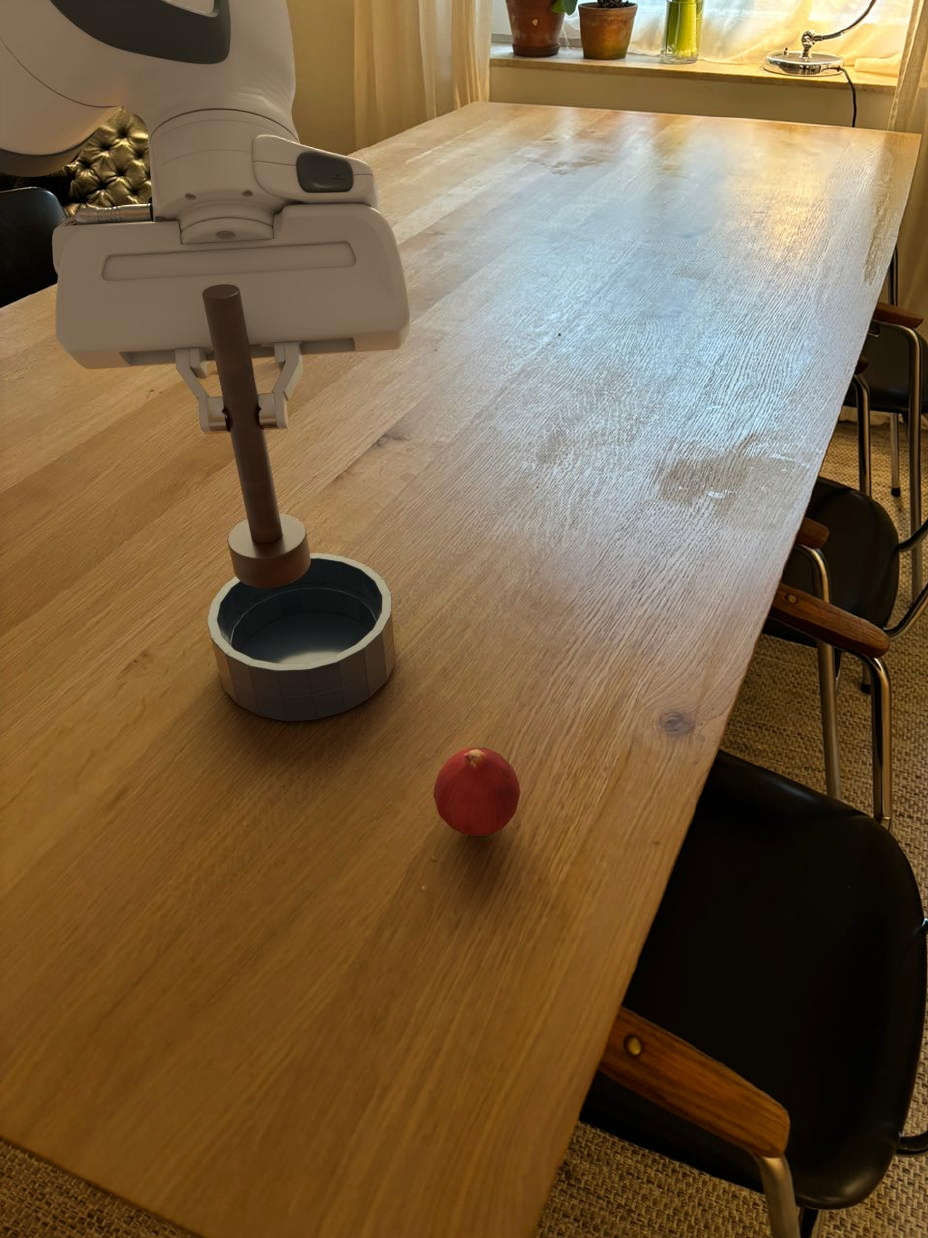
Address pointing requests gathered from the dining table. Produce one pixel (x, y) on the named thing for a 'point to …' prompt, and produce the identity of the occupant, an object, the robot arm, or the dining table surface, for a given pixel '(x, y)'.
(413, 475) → the dining table surface
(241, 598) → the bowl
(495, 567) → the dining table surface
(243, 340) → the upright rod on disc
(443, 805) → the onion
